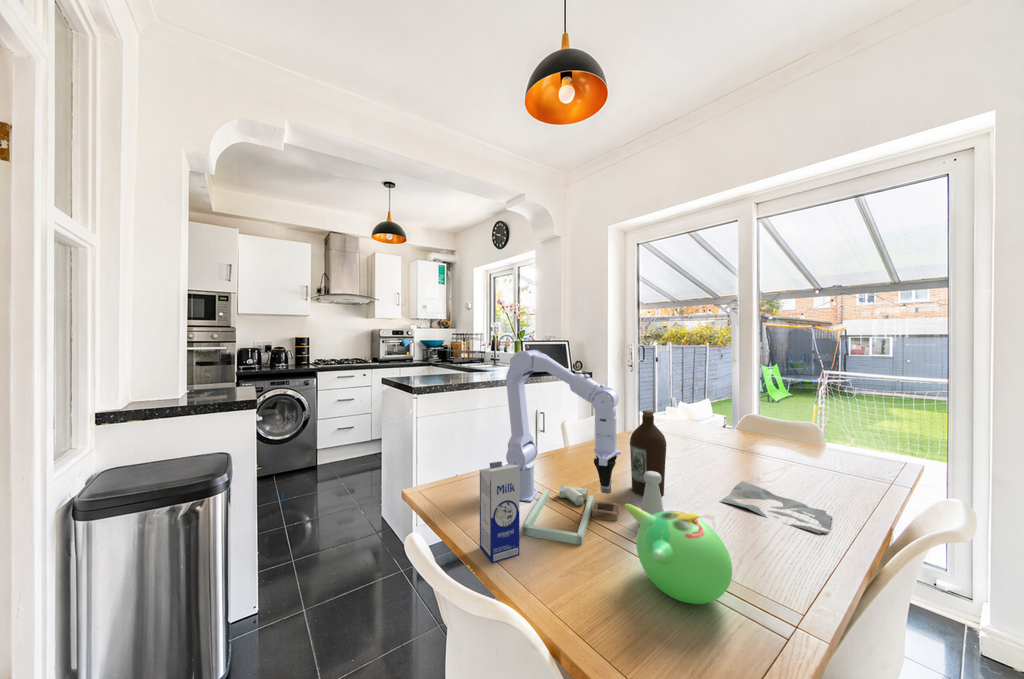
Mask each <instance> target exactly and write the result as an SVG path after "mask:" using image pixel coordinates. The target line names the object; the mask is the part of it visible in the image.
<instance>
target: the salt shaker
mask: <svg viewBox="0 0 1024 679" xmlns="http://www.w3.org/2000/svg"><path fill="white" fill-rule="evenodd" d="M644 481H645V482H646V485H645V490H644V496H642V501H641V508H640V509H641V510H643V511H645V512H647V513H649V514H651V515H653V514H656V513H658V512H663V511H665V510H664V509H665V508H664V505H663V501H662V496H661V494H660V489H659V483H661V475H660V474H659V473H658V472H654V471H647V472H645V473H644Z"/></svg>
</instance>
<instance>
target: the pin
mask: <svg viewBox="0 0 1024 679" xmlns="http://www.w3.org/2000/svg"><path fill="white" fill-rule="evenodd" d="M600 493H603V494H606V495H608V494H611V493H612V478H611V479H610V484H609V487H606V486H601V485H600Z"/></svg>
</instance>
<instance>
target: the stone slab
mask: <svg viewBox="0 0 1024 679" xmlns="http://www.w3.org/2000/svg"><path fill="white" fill-rule="evenodd" d="M737 500H761V501H762V500H763V501H766V500H768V501H769V500H771V501H776V502H778V503H779V502H780V503H782V505H783V506H770V508H772V509H776V510H777V511H776V510H768V512H769V513H773V514H776V515H778V516H781V517H787V518H792V519H795V520H796V521H798V522H801V523H806V524H809V525H802V524H801V525H799V524H795V523H791V524H790V526H791V527H795V528H799V529H804V530H807V531H811V532H813V533H816V534H819V535H820V534H829V533H830V531H832V528H831V527H832V524H831V523H832V521H833V520H832V518H833V516H832V515H830V514H827V510H825V509H819V508H813V507H809V506H808V504H805V503H803V502H800V501H797V500H795V499H791V498H786V497H782V496H779V495H776V494H775V493H772V492H771V491H769V490H767V489H765V488H764V487H763V488H762V487H760V486H757V485H755V484H752V483H749V482H747V481H745V480H742V481H740V482H738V484H736V485H735V486H733V489H732V490H731V492H729V494H728V495H727V496H725V497H723V498H722V499H720V500H719V502H721V503H725V504H731V505H733V506H734V505H735V506H737V507H738V506H739V507H742V508H746V509H749V510H751V511H753V512H754V513H757V514H759V515H761V516H762V517H764V518H767V519H768V516H767V514H765V513H764V512H763V511H762V510H761V508H759V507H758V506H756V505H754V504H743V503H741V502H738V501H737ZM779 510H789V511H791V512H794V513H796V514H797V513H798V514H801V515H805V516H808V518H811V519H813V520H815V521H817V522H818V524H819V525H818V524H814V523H811V522H809V521H807V520H805V519H802V518H799V517H797V516H794V515H793V514H790V513H787V512H783V511H779ZM778 516H775V515H773V516H772V517H773V518H775V519H780V517H778ZM782 523H783V524H784V525H787V526H788V525H789V524H788V523H787V522H783V521H782ZM810 525H812V526H813V525H814V526H817V527H820V528H823V529H826V530H823V529H818V528H815V527H812V526H810Z"/></svg>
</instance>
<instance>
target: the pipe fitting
mask: <svg viewBox="0 0 1024 679" xmlns="http://www.w3.org/2000/svg"><path fill="white" fill-rule="evenodd" d="M558 491H559V492H558V494H559V496H558V497H559V498H562V499H567V500H569V501H570V502H571V503H573V504H575V505H576V506H578V507H579V506H582V505H583V504H584V503H585V501H586V502H588V498H589V495H588V492H589V491H588V487H577V486H569V485H568V486H567V485H563V484H562V485H561V484H560V485H559V490H558Z"/></svg>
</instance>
